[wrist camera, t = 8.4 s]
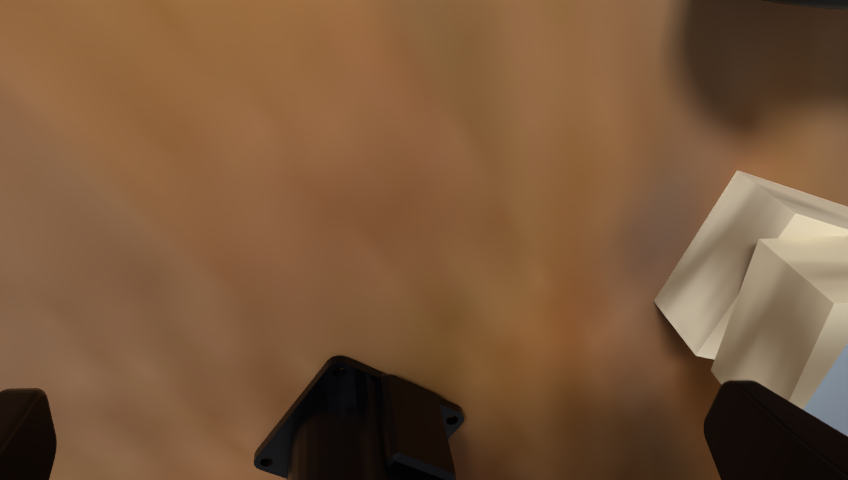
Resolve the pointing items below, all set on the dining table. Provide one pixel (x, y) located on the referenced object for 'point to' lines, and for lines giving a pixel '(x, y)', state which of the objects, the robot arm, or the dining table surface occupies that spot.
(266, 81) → the dining table surface
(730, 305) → the tower base
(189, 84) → the dining table surface
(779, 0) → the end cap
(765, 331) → the tower top
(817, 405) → the blue block
